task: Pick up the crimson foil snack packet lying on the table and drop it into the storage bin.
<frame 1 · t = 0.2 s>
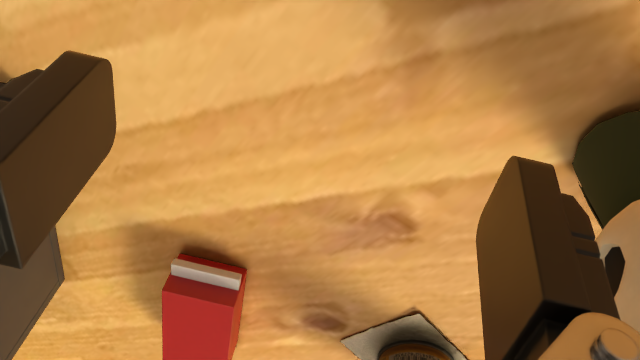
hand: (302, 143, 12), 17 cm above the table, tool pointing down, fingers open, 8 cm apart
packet: (210, 299, 44), on the table
character mug: (633, 148, 30), on the table
condiment: (410, 353, 45), on the table
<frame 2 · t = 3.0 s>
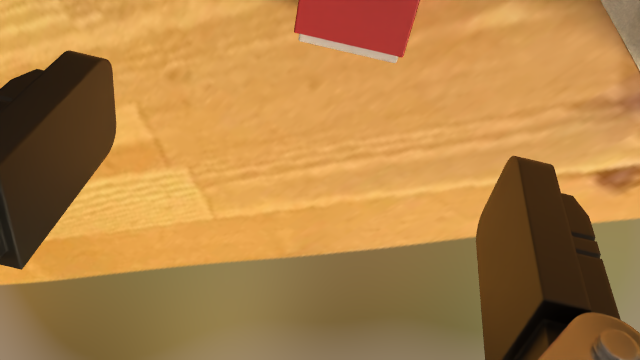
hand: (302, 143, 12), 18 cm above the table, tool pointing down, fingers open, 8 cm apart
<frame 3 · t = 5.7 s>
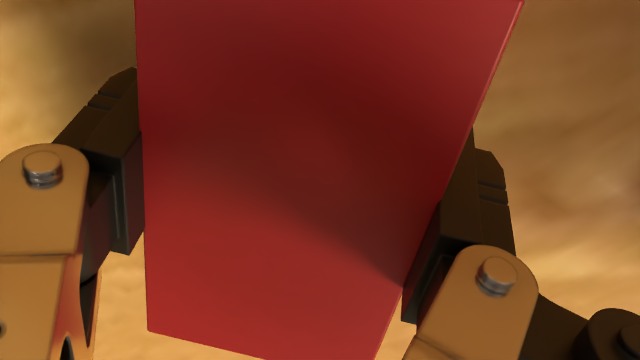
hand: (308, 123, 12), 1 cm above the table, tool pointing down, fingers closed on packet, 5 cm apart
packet: (313, 107, 13), on the table, touching gripper
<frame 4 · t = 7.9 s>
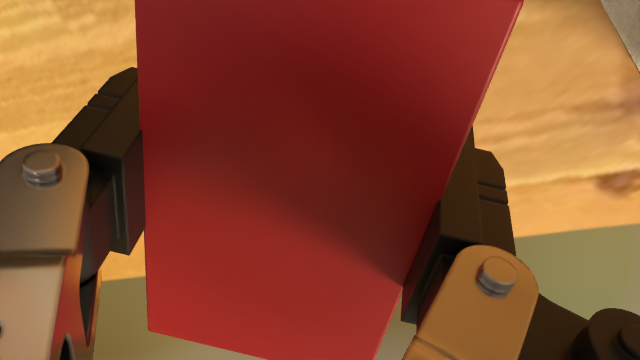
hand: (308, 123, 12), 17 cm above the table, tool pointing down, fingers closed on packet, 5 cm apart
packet: (314, 108, 13), point 16 cm above the table, touching gripper
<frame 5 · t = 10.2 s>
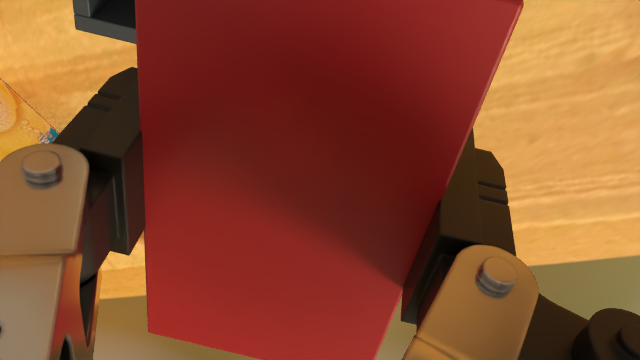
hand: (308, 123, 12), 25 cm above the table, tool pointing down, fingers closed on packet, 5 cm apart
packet: (314, 109, 13), point 25 cm above the table, touching gripper
beverage box: (4, 120, 48), on the table
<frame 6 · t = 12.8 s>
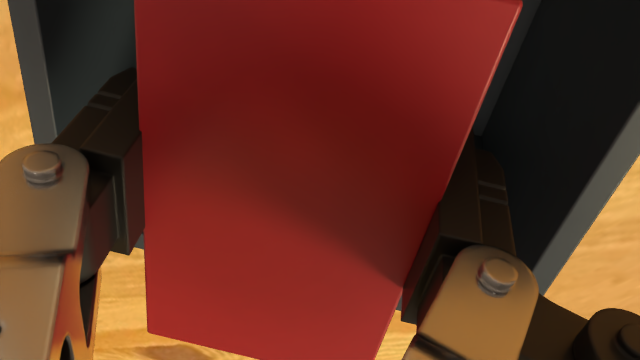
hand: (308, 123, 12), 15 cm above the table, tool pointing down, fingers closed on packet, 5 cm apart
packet: (313, 110, 13), point 14 cm above the table, touching gripper
when the fingers open (8 cm above the table, at t = 15.0 s): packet drops 7 cm, resting on storage bin.
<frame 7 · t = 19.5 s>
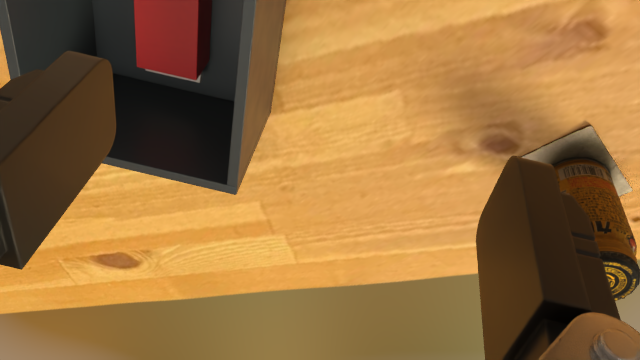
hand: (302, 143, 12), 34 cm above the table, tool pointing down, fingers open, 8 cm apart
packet: (181, 4, 46), point 1 cm above the table, touching storage bin
storage bin: (184, 0, 47), on the table
condiment: (570, 173, 52), on the table
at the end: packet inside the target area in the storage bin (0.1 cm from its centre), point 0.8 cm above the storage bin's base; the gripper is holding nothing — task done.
